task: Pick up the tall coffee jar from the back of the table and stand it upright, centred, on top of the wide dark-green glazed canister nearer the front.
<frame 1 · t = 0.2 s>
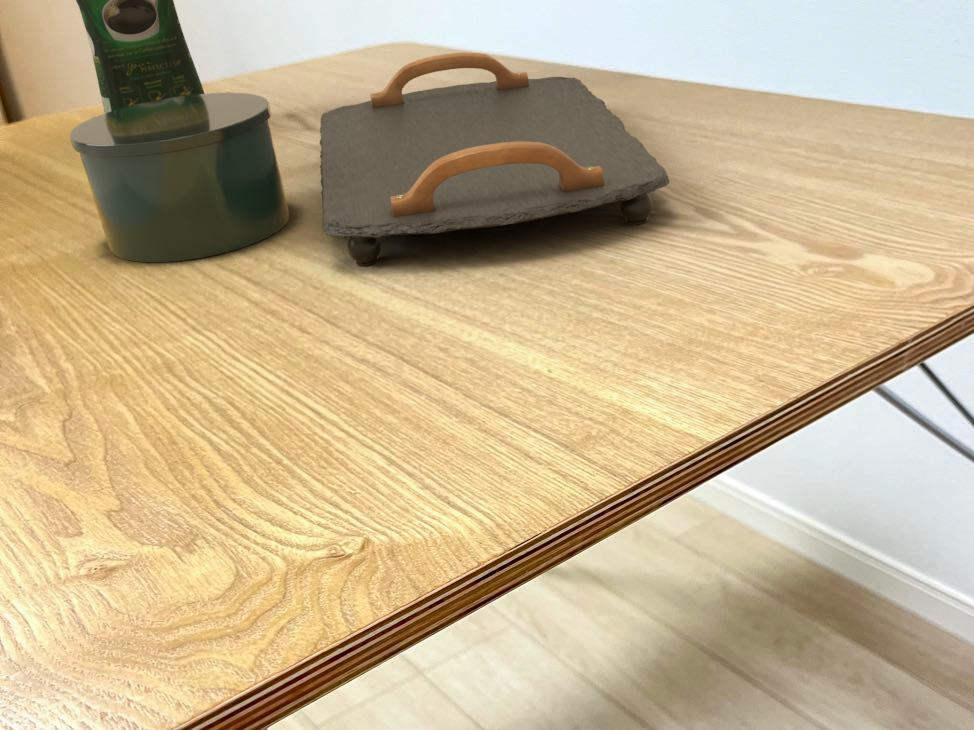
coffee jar: (163, 135, 111), on the table
serving tray: (477, 180, 88), on the table
canister: (200, 230, 83), on the table
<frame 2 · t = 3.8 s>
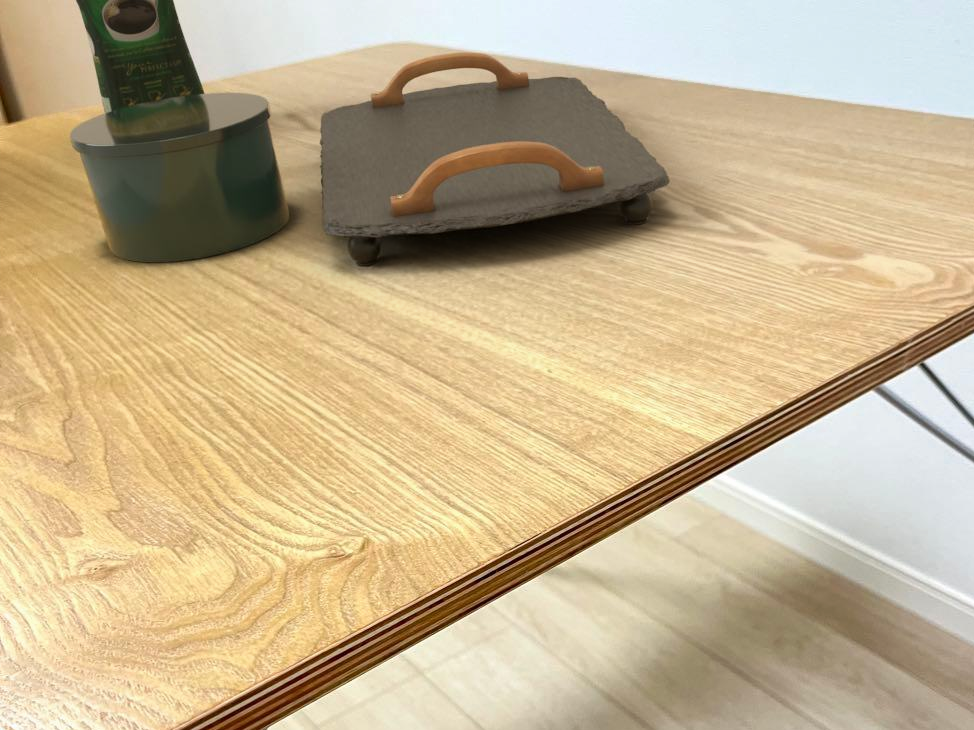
nothing on the table moved.
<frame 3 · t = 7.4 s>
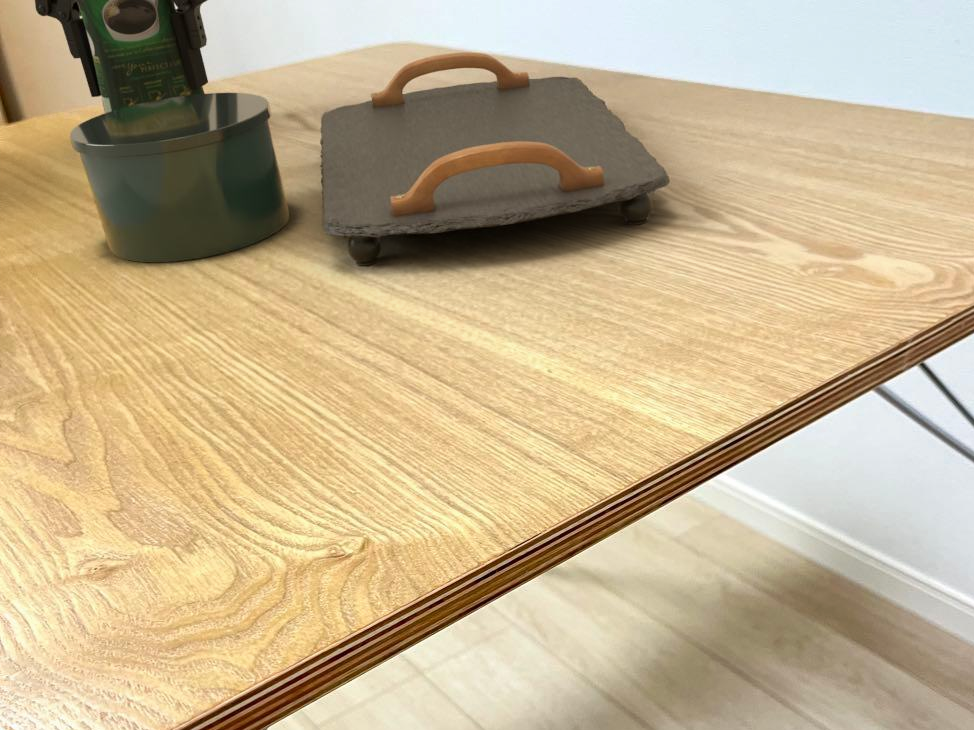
hand: (150, 89, 108), 4 cm above the table, tool pointing down, fingers closed on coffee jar, 9 cm apart
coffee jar: (163, 135, 111), on the table, touching gripper
everything else where it was.
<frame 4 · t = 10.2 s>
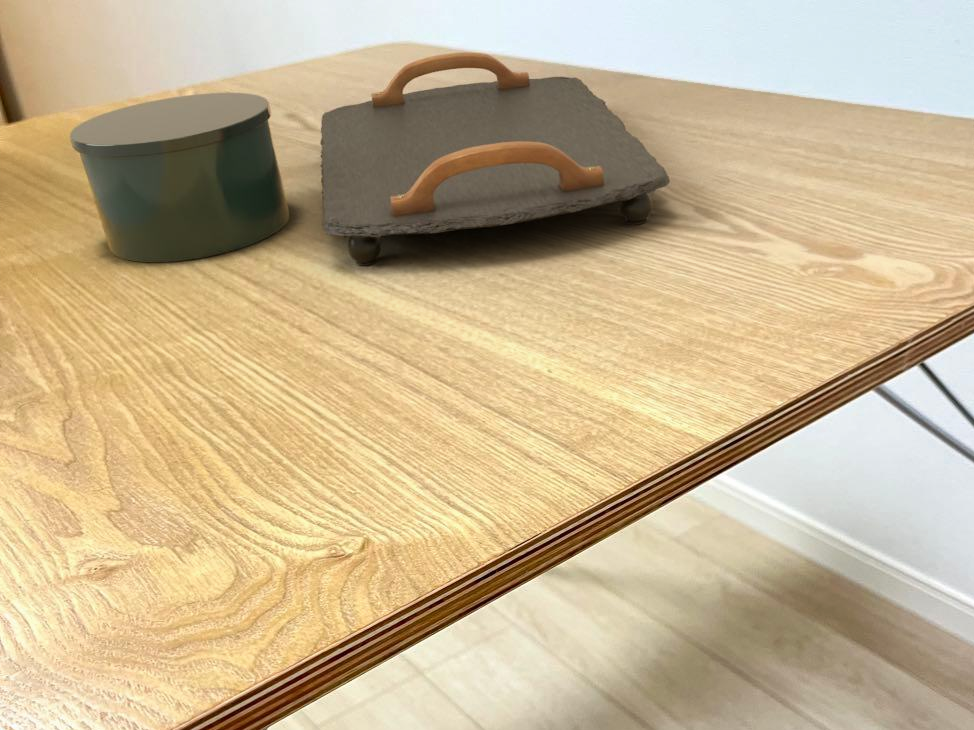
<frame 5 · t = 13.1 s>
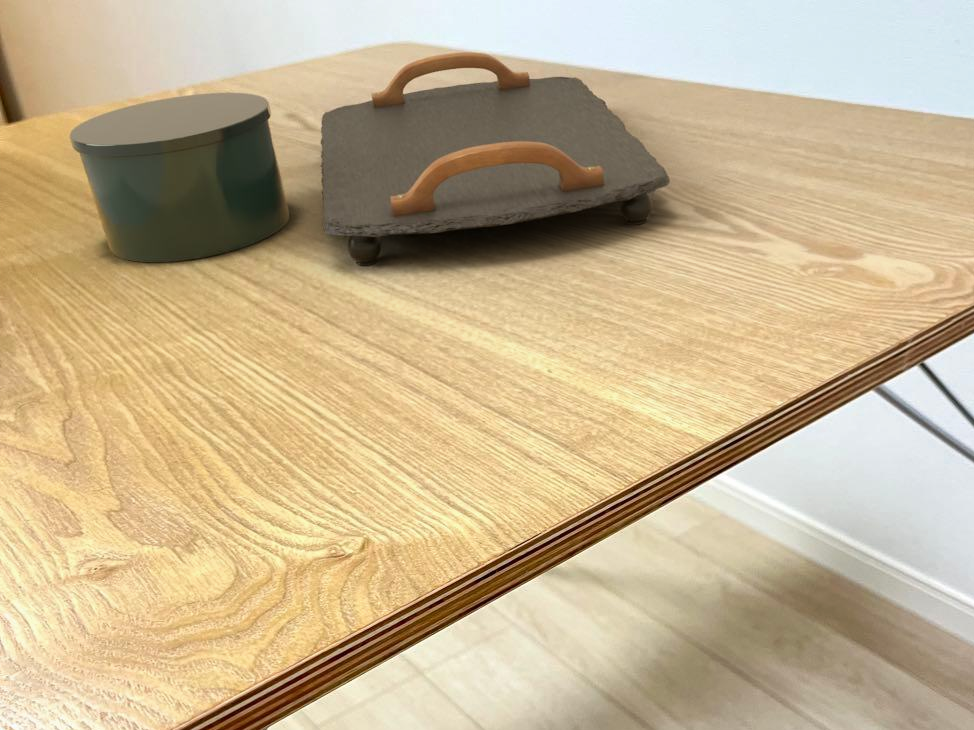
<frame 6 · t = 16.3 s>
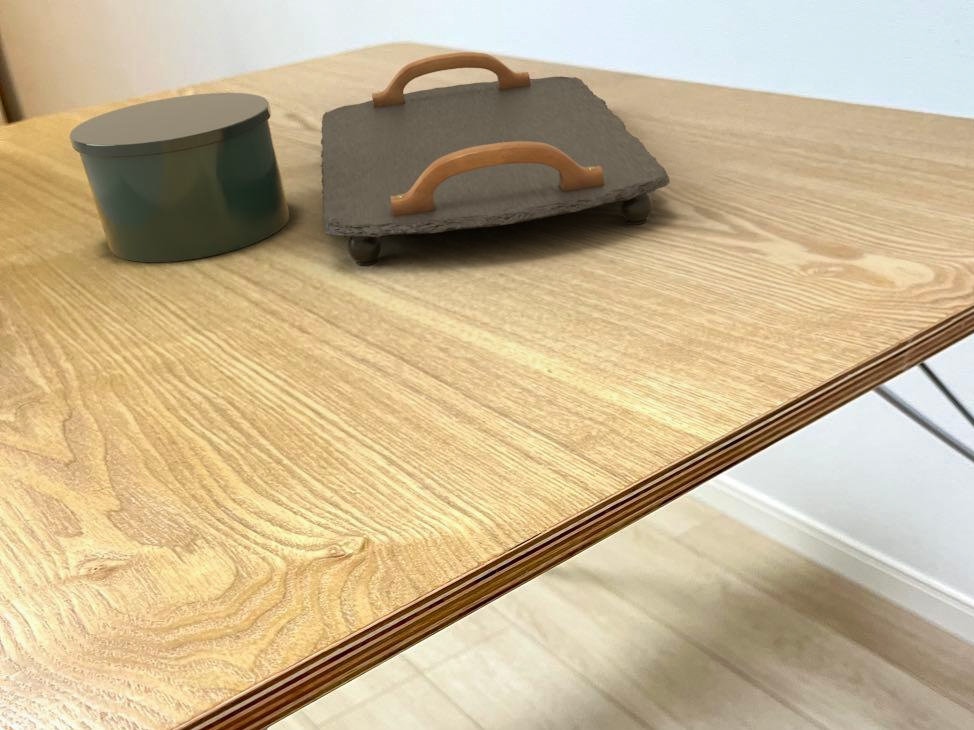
when the fingers open (12 cm above the table, at t = 19.0 s): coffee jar stays where it is, resting on canister.
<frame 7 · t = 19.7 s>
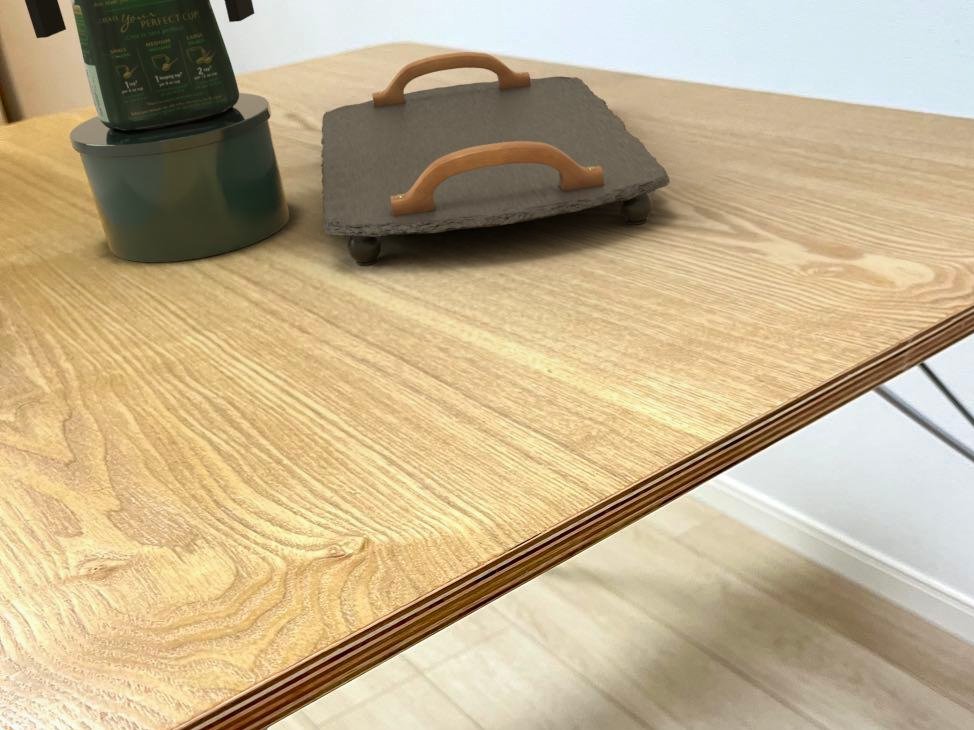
hand: (145, 26, 76), 14 cm above the table, tool pointing down, fingers open, 13 cm apart
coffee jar: (172, 119, 79), point 8 cm above the table, touching canister
everything else where it was.
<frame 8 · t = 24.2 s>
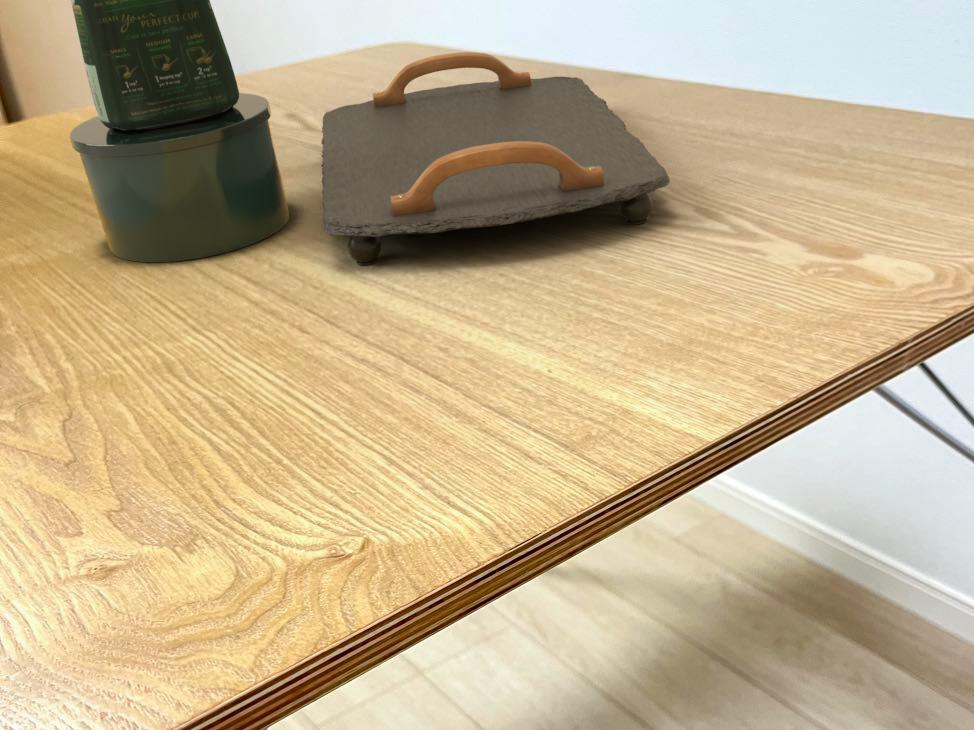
nothing on the table moved.
at the end: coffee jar 0.1 cm off-centre on the canister, point 7.8 cm above the canister's base; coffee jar tilted 0°; the gripper is holding nothing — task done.
